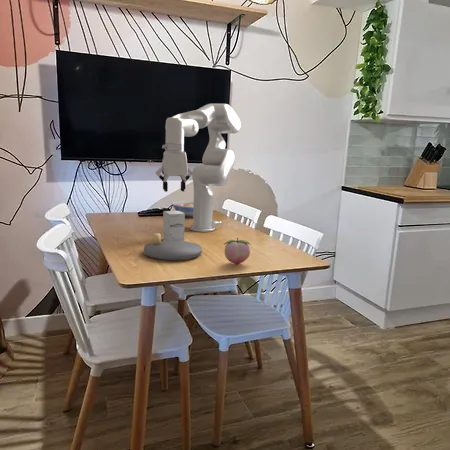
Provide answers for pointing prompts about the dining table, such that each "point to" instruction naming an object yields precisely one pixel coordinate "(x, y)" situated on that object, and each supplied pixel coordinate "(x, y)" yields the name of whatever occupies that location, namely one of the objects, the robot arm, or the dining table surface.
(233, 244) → the decorative fruit
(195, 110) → the robot arm
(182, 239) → the supplement box
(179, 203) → the ramen bowl
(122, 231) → the dining table surface
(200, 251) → the disc
